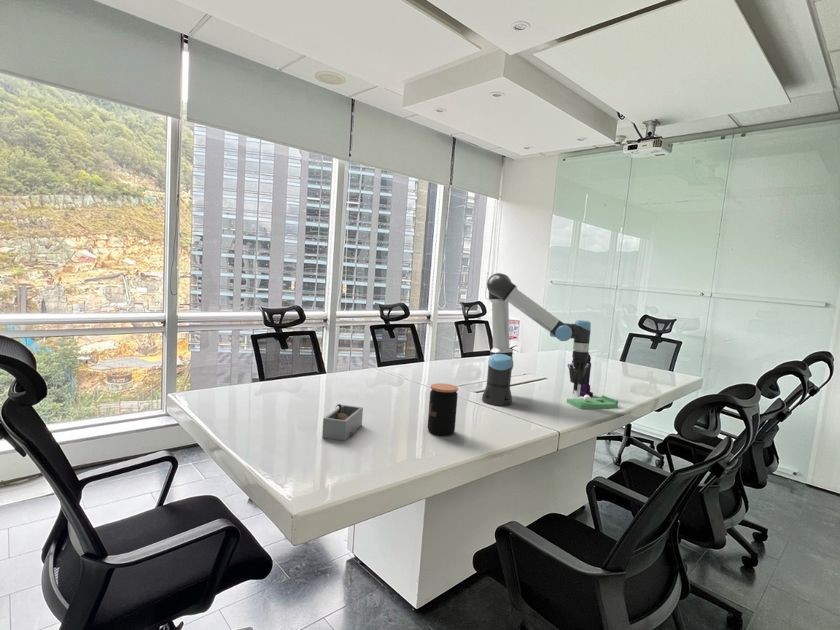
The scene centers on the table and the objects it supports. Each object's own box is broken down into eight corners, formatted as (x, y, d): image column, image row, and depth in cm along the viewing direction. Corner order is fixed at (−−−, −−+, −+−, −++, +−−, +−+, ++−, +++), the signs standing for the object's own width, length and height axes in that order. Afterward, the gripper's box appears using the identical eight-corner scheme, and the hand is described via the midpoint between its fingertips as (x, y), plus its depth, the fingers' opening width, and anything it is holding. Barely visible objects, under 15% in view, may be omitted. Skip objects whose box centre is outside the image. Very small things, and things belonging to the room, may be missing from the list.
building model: (572, 393, 257) (578, 341, 254) (580, 392, 260) (585, 341, 257) (585, 397, 249) (590, 344, 247) (592, 396, 252) (598, 343, 250)
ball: (583, 401, 231) (584, 395, 230) (582, 400, 234) (583, 393, 234) (590, 402, 230) (591, 396, 230) (589, 401, 233) (590, 394, 233)
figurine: (328, 423, 174) (330, 401, 173) (339, 422, 176) (341, 400, 175) (341, 436, 162) (343, 413, 161) (353, 435, 164) (355, 412, 163)
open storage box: (322, 437, 160) (323, 418, 160) (341, 422, 178) (342, 404, 178) (344, 440, 158) (346, 421, 158) (361, 424, 177) (362, 407, 176)
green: (580, 408, 224) (581, 401, 224) (566, 402, 235) (567, 396, 235) (617, 407, 232) (618, 401, 232) (602, 401, 242) (603, 395, 242)
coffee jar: (427, 426, 181) (430, 382, 179) (453, 428, 180) (457, 384, 179) (427, 435, 170) (430, 388, 169) (455, 437, 170) (458, 391, 168)
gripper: (574, 352, 222) (570, 398, 224) (596, 352, 226) (592, 398, 228) (565, 349, 229) (561, 395, 231) (586, 349, 233) (582, 394, 235)
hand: (576, 396), depth 230 cm, fingers closed
